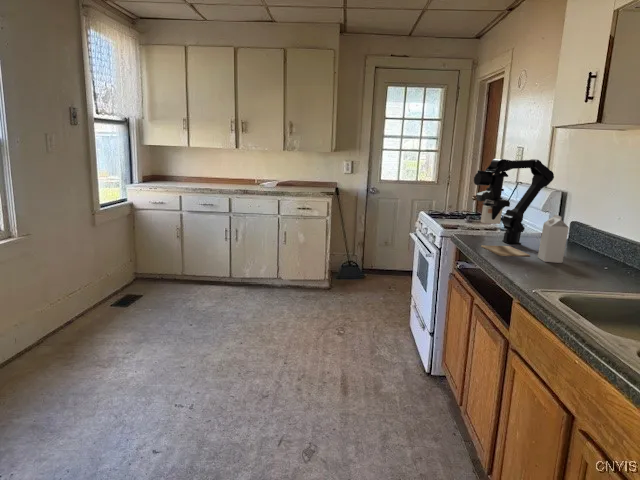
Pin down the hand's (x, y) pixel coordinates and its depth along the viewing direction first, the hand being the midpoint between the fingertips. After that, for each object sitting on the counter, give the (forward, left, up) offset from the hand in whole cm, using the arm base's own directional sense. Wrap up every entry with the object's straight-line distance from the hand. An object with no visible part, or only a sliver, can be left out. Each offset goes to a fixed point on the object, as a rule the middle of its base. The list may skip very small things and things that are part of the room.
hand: (490, 218), depth 207 cm
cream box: (0, 0, -2) cm, 2 cm away
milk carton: (-11, +31, -12) cm, 35 cm away
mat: (+1, +17, -12) cm, 21 cm away
